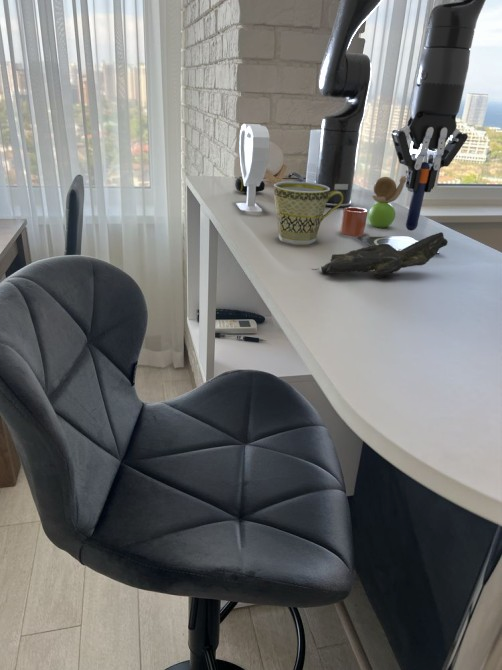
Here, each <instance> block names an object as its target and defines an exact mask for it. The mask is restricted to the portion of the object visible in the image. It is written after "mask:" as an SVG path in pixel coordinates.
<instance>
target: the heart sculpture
mask: <svg viewBox="0 0 502 670" xmlns="http://www.w3.org/2000/svg"><path fill="white" fill-rule="evenodd" d="M270 139H271V138H270V132H269V130H268V127H266V125H261V124H260V123H257V124H256V123H243V124H242V125H241V126H240V129H239V163H240V172H241V177H243V183H244V186H247V193H246V202H236V203H235V205H236V206H237V207H238V208H239V210H240V211H245V212H246V213H262V212H263V209H262V208H261V207H260V206H259V205H258V204H257V203H256V195H257V194H256V193H257V192H256V186H259V185H260V183H261V181H263V180H264V177H265V176H266V172H267V168H268V165H269V156H270Z"/></svg>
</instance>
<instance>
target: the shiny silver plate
mask: <svg viewBox="0 0 502 670" xmlns="http://www.w3.org/2000/svg"><path fill="white" fill-rule="evenodd" d="M356 237H357V239H358V240H359V241H361V242H362V243H364V244H365V245H366V246H367V247H369V246H375V245H380V244H389V245H391V246H392V247H393V248H394V249H395V250H397V251H401V250H403V249H404V248H406V247H408V246H410V245H412V244H414V243H416V242H418V241H419V240H417V239H415V238H413V237H411V236H408V235H406V236H405V235H403V236H401V235H400V236H397V235H395V236H391V235H390V236H356ZM435 255H440V252H439V251H438V252H437V253H436V254H435Z"/></svg>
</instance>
